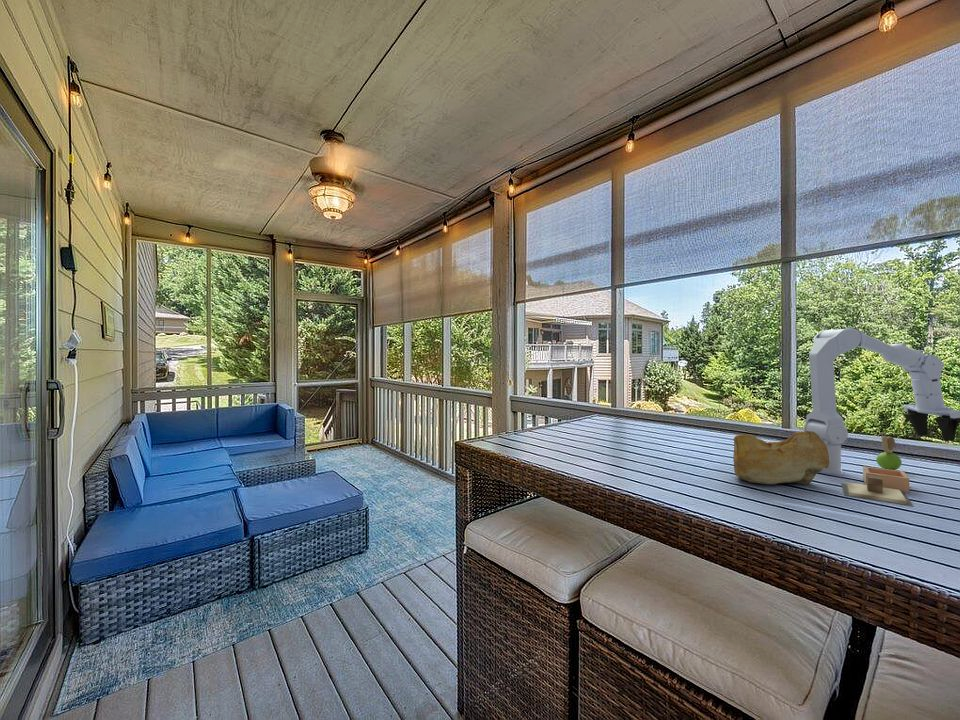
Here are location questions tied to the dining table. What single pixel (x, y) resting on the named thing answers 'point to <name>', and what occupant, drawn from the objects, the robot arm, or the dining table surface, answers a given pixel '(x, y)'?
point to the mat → (875, 499)
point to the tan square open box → (888, 478)
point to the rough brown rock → (780, 458)
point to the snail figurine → (888, 454)
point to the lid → (875, 491)
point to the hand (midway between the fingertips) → (935, 437)
